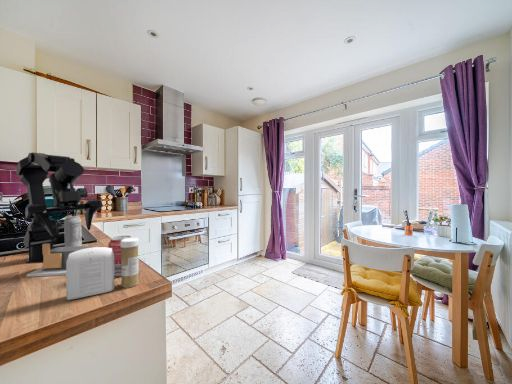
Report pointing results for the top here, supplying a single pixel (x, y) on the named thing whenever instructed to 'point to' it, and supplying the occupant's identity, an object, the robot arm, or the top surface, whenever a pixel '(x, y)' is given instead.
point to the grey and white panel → (62, 270)
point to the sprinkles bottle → (129, 262)
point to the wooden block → (51, 257)
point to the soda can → (117, 253)
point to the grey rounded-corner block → (89, 272)
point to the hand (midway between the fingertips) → (72, 232)
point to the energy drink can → (73, 231)
